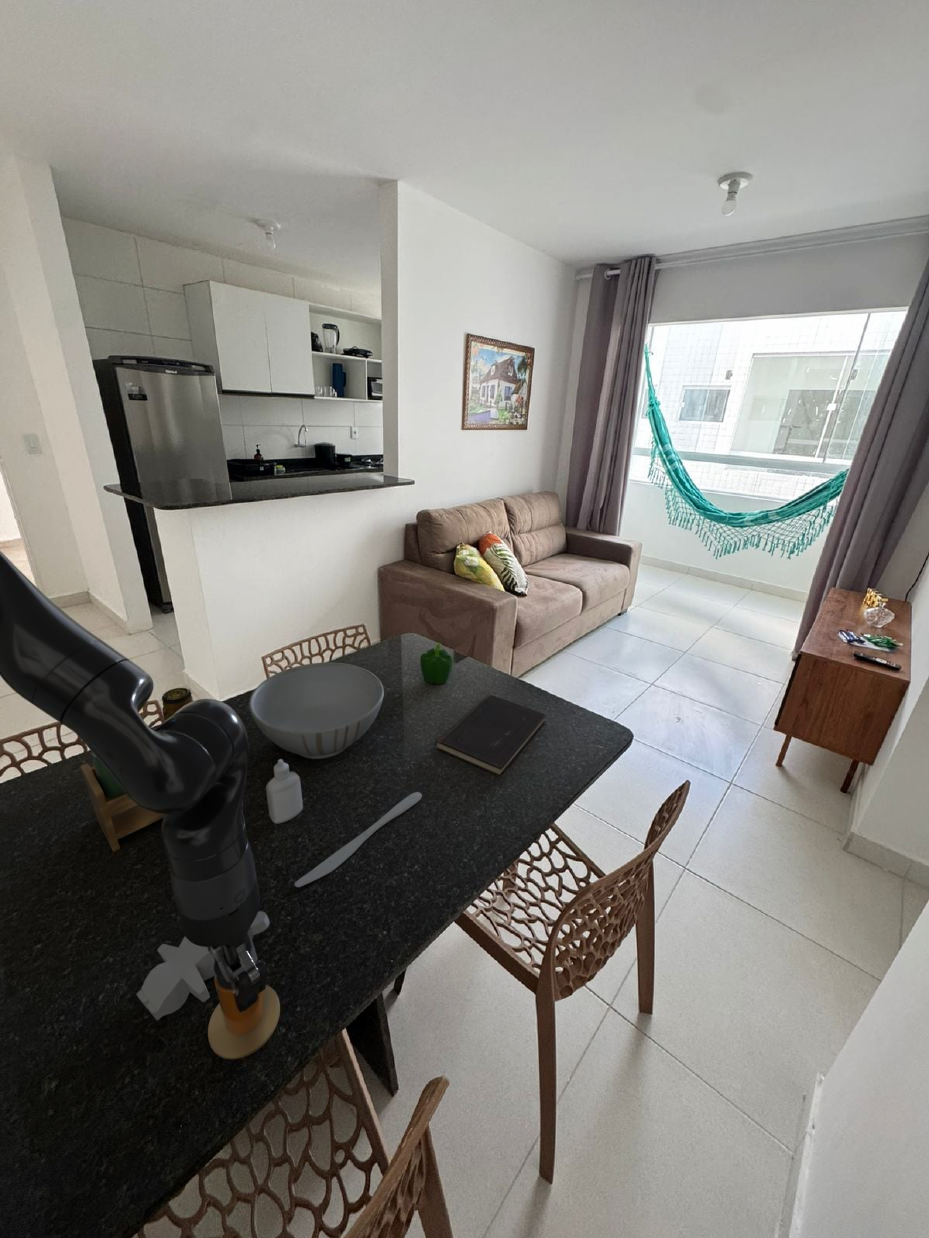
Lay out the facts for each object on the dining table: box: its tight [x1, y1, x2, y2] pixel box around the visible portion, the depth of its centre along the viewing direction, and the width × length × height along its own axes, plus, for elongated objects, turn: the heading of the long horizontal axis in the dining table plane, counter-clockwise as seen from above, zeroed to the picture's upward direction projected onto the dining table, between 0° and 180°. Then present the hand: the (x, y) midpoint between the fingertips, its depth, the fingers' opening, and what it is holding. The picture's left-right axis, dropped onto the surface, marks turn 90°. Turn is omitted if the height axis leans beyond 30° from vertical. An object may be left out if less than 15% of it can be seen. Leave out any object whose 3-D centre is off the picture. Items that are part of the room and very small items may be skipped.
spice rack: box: [80, 763, 165, 853], centre depth 90 cm, size 20×9×12 cm, turn 136°
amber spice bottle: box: [214, 960, 264, 1034], centre depth 59 cm, size 4×4×10 cm
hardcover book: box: [435, 693, 547, 778], centre depth 115 cm, size 16×23×2 cm
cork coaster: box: [207, 984, 281, 1060], centre depth 62 cm, size 8×8×1 cm
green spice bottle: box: [90, 750, 126, 798], centre depth 82 cm, size 4×4×10 cm
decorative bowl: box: [248, 661, 385, 760], centre depth 109 cm, size 27×27×12 cm
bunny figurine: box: [136, 910, 270, 1022], centre depth 66 cm, size 10×5×15 cm
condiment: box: [161, 687, 195, 722], centre depth 106 cm, size 7×8×12 cm
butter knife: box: [294, 791, 423, 888], centre depth 88 cm, size 1×27×3 cm
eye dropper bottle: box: [265, 758, 304, 825], centre depth 89 cm, size 4×6×12 cm
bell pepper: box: [419, 642, 453, 685], centre depth 135 cm, size 8×8×10 cm
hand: (238, 986), depth 59 cm, fingers closed on amber spice bottle, 4 cm apart
